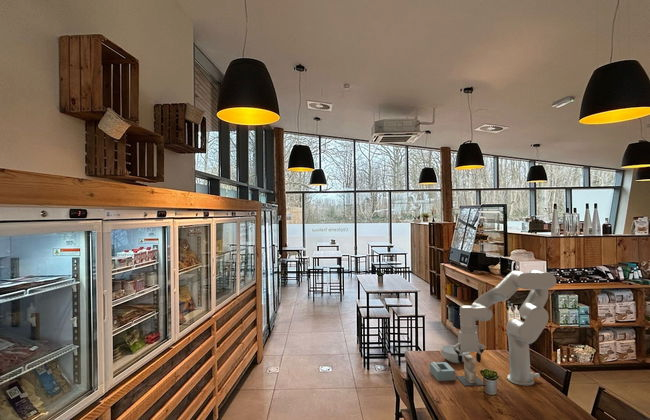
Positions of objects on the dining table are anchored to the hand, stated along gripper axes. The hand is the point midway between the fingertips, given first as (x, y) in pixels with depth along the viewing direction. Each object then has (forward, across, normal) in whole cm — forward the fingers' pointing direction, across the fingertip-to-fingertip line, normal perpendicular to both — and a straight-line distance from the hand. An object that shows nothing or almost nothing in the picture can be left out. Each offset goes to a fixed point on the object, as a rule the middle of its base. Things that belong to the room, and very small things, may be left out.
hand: (469, 362), depth 187 cm
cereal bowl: (+10, -4, -28) cm, 30 cm away
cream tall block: (+9, 0, 0) cm, 9 cm away
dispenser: (+10, +12, -8) cm, 17 cm away
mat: (+10, 0, 0) cm, 10 cm away
